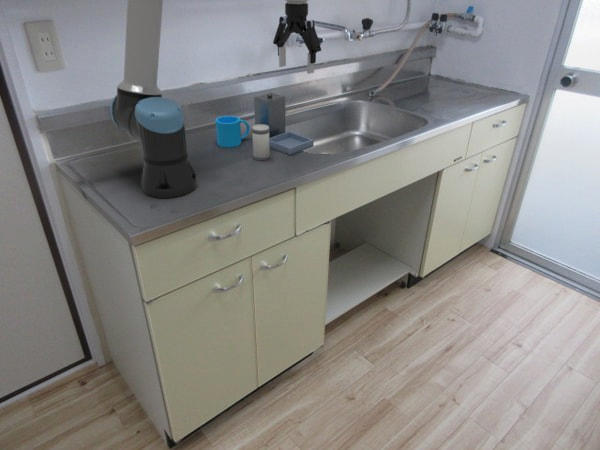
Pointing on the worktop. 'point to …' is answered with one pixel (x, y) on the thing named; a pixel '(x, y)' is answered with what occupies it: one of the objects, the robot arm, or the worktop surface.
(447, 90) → the worktop surface
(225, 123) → the mug
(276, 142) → the tray
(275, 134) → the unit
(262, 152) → the cylinder
